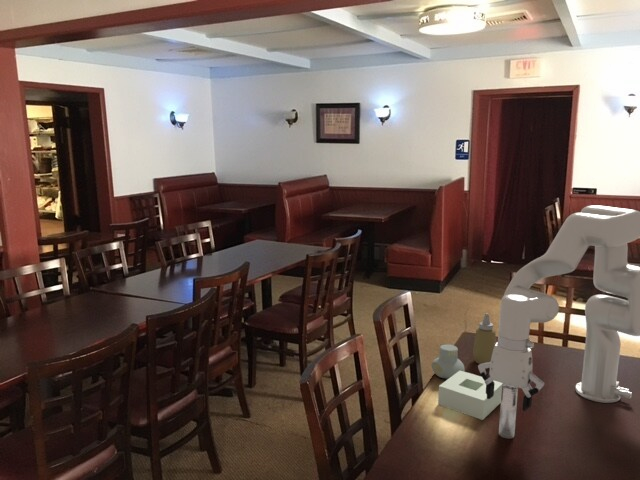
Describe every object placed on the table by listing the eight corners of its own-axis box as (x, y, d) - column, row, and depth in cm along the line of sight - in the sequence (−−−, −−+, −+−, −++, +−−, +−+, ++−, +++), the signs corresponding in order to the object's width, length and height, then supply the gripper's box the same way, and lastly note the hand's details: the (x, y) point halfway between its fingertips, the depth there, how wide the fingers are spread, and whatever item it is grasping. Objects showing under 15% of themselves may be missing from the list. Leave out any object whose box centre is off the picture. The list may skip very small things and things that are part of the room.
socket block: (501, 401, 164) (503, 383, 162) (482, 420, 153) (483, 400, 152) (458, 387, 172) (459, 370, 171) (438, 404, 162) (438, 385, 161)
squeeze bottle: (497, 367, 187) (500, 318, 184) (472, 366, 189) (475, 316, 185) (494, 358, 195) (497, 310, 191) (471, 356, 196) (474, 309, 193)
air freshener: (467, 380, 178) (469, 352, 176) (445, 384, 175) (447, 355, 173) (448, 367, 188) (450, 340, 186) (428, 370, 185) (429, 343, 183)
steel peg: (516, 433, 146) (520, 385, 143) (511, 440, 143) (514, 391, 140) (502, 428, 149) (505, 381, 146) (496, 434, 146) (499, 386, 143)
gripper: (551, 346, 138) (545, 408, 141) (486, 330, 149) (482, 388, 152) (542, 355, 132) (535, 419, 135) (475, 337, 143) (470, 397, 146)
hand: (507, 403), depth 144 cm, fingers open, 9 cm apart
